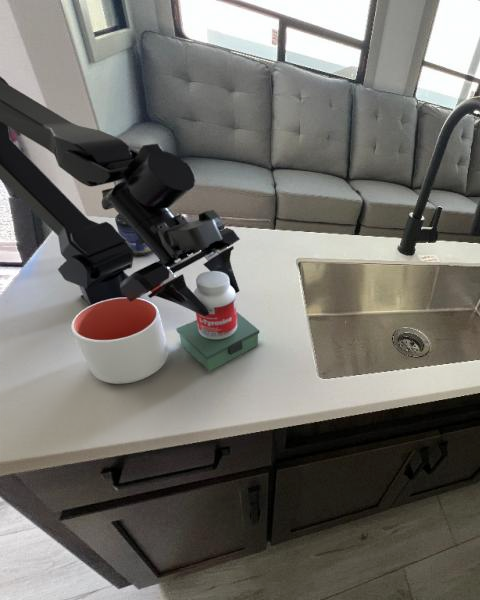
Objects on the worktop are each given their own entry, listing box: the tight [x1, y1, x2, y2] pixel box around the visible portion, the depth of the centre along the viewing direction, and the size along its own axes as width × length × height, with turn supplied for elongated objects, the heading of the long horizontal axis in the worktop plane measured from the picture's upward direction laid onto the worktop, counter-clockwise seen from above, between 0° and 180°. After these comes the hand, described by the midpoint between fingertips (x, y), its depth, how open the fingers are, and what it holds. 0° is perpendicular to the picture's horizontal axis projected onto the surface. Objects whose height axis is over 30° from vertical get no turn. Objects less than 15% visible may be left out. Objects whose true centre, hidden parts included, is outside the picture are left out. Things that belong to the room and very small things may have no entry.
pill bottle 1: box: [114, 213, 154, 257], centre depth 74 cm, size 6×6×11 cm
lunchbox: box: [175, 311, 260, 372], centre depth 60 cm, size 10×10×4 cm
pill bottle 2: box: [193, 270, 238, 340], centre depth 56 cm, size 6×6×11 cm
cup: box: [70, 297, 169, 385], centre depth 51 cm, size 10×10×10 cm
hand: (223, 303), depth 55 cm, fingers open, 7 cm apart
